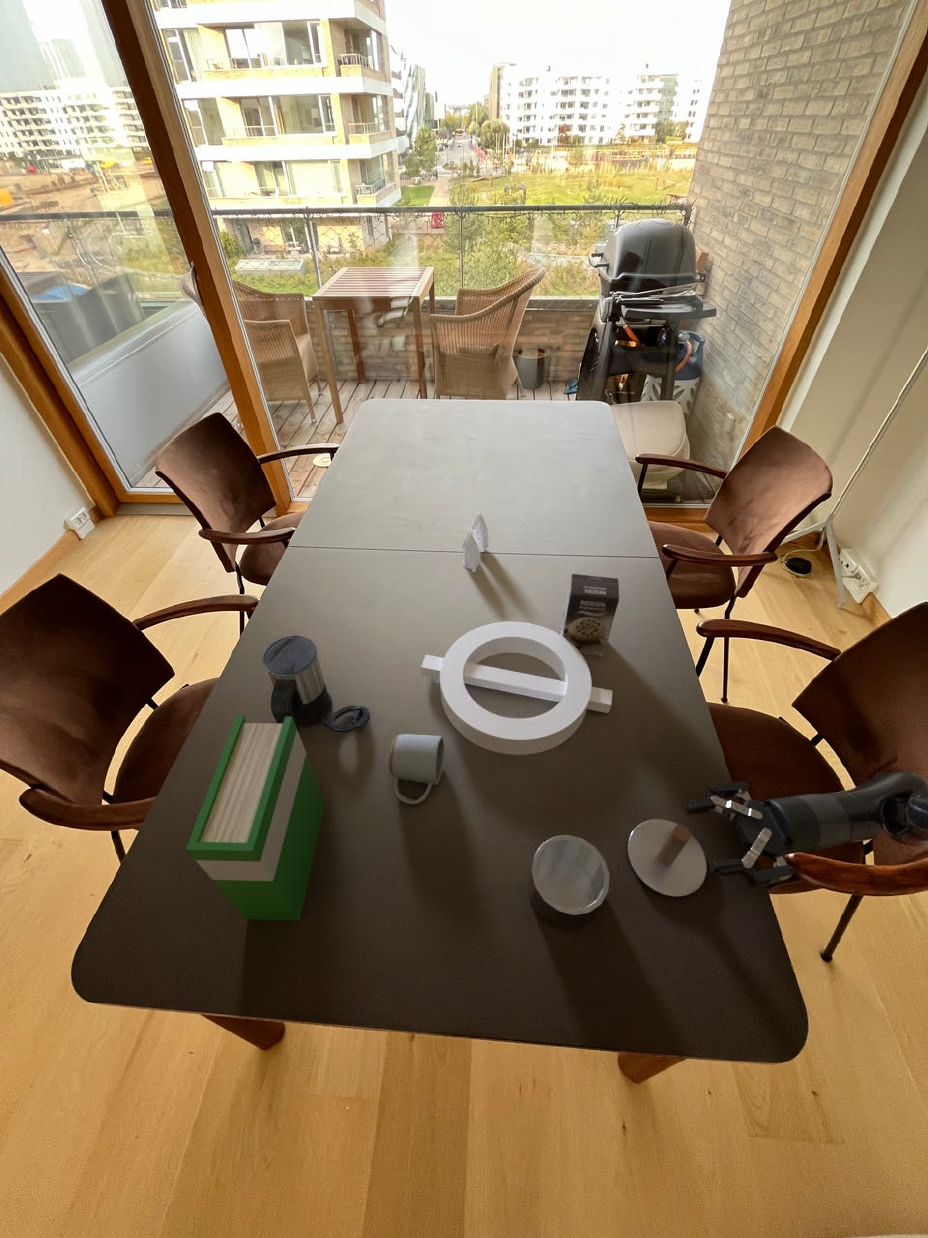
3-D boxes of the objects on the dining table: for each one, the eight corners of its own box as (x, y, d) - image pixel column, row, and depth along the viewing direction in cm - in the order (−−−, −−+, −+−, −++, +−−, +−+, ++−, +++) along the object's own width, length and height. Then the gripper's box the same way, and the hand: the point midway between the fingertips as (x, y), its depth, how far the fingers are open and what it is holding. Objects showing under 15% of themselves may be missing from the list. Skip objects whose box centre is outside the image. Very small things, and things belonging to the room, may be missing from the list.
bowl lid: (720, 873, 82) (743, 847, 75) (664, 915, 78) (682, 891, 71) (665, 809, 89) (681, 781, 82) (610, 845, 85) (622, 818, 78)
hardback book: (280, 801, 90) (236, 715, 73) (325, 802, 90) (292, 716, 73) (247, 919, 77) (185, 849, 60) (299, 920, 77) (252, 851, 60)
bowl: (615, 905, 79) (625, 887, 74) (556, 946, 75) (563, 930, 70) (570, 842, 85) (576, 822, 80) (514, 877, 81) (517, 858, 76)
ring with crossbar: (618, 711, 102) (623, 696, 99) (491, 782, 92) (492, 767, 89) (530, 619, 119) (532, 603, 116) (415, 670, 109) (413, 655, 106)
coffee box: (558, 652, 113) (569, 594, 101) (560, 630, 117) (570, 572, 106) (604, 658, 111) (619, 599, 100) (603, 635, 116) (618, 577, 105)
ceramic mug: (399, 747, 97) (394, 723, 91) (445, 752, 96) (443, 728, 91) (385, 804, 90) (380, 781, 84) (435, 810, 89) (433, 787, 83)
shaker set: (475, 540, 139) (476, 502, 131) (491, 543, 138) (492, 506, 130) (459, 569, 131) (458, 531, 124) (475, 572, 130) (476, 534, 123)
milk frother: (281, 692, 105) (261, 640, 95) (364, 676, 108) (353, 623, 98) (283, 756, 96) (261, 705, 85) (374, 736, 98) (363, 685, 88)
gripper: (787, 766, 83) (685, 780, 81) (847, 861, 73) (731, 879, 71) (768, 790, 88) (671, 803, 86) (821, 882, 78) (713, 899, 76)
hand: (698, 838), depth 79 cm, fingers open, 8 cm apart
